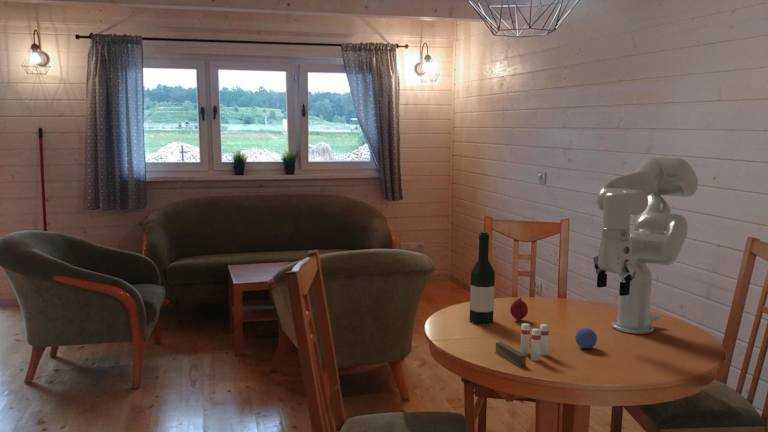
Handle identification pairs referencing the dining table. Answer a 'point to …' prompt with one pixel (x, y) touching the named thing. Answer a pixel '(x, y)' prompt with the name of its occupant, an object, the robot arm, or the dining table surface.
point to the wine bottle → (482, 285)
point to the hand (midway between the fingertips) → (612, 290)
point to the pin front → (544, 339)
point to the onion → (519, 309)
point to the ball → (586, 338)
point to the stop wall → (511, 354)
